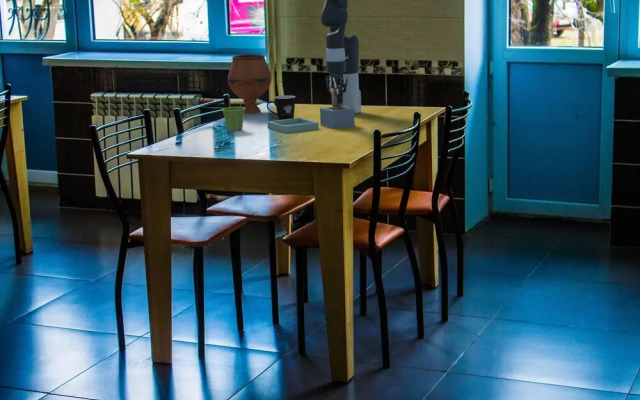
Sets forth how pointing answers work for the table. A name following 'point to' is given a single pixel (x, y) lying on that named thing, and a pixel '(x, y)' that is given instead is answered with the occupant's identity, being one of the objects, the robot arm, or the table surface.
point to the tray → (293, 125)
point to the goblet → (249, 79)
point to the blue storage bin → (337, 117)
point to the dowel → (335, 100)
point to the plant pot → (234, 118)
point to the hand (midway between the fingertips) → (337, 102)
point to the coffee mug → (284, 107)
